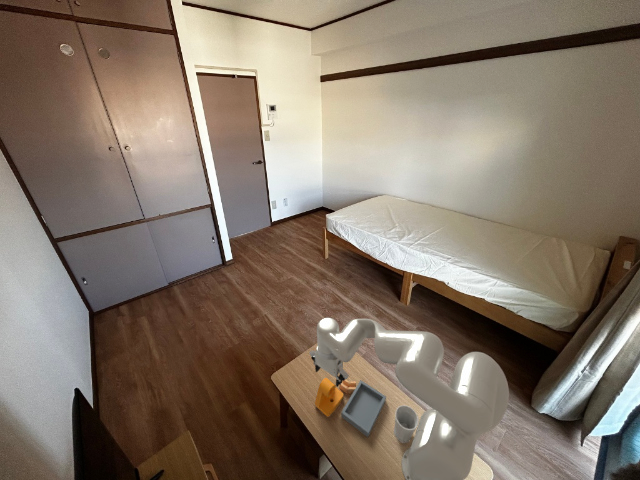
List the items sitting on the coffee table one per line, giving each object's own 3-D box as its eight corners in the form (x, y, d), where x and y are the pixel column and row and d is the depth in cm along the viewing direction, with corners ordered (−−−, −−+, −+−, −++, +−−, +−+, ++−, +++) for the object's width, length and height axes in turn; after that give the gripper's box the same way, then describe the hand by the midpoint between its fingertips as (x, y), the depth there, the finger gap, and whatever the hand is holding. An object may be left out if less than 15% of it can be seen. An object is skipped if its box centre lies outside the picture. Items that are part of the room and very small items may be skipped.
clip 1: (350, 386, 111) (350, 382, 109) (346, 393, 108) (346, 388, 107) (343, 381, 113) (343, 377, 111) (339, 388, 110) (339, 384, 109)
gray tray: (385, 401, 105) (386, 396, 103) (368, 437, 94) (368, 433, 92) (360, 384, 111) (360, 380, 109) (341, 416, 100) (341, 412, 98)
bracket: (328, 418, 100) (327, 403, 94) (315, 406, 104) (313, 390, 98) (344, 397, 107) (344, 381, 101) (331, 386, 111) (331, 370, 105)
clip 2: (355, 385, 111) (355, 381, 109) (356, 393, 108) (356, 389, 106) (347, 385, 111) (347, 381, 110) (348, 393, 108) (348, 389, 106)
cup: (388, 435, 94) (391, 419, 88) (396, 416, 100) (400, 400, 94) (409, 451, 90) (414, 435, 84) (416, 430, 95) (421, 414, 89)
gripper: (354, 353, 86) (352, 381, 95) (315, 329, 95) (316, 357, 104) (343, 370, 81) (342, 398, 89) (302, 343, 90) (305, 371, 98)
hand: (328, 376), depth 96 cm, fingers open, 9 cm apart
